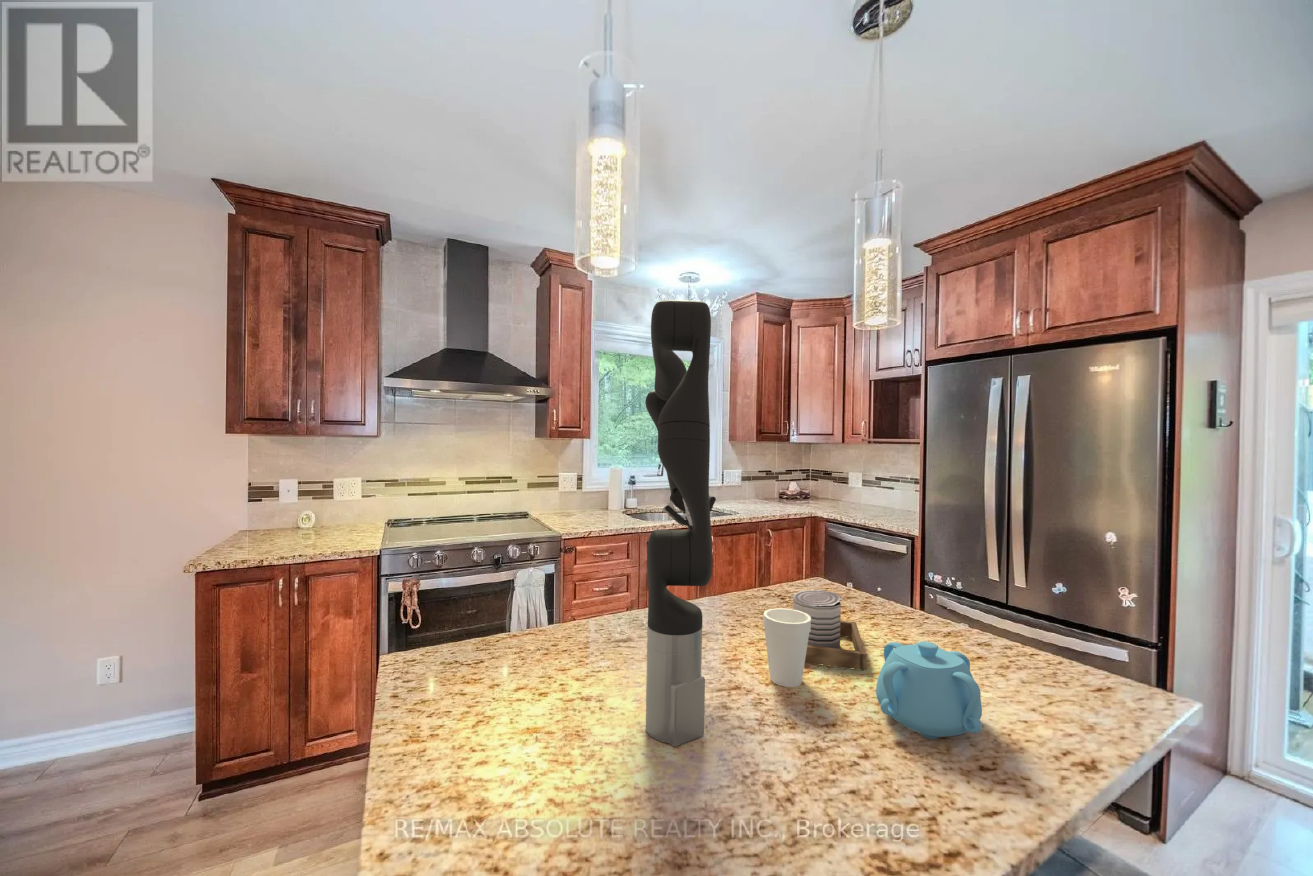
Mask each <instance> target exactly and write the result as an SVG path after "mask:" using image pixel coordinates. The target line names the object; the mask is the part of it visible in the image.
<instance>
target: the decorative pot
mask: <svg viewBox="0 0 1313 876" xmlns="http://www.w3.org/2000/svg"><path fill="white" fill-rule="evenodd" d="M883 657H884V663H883V665H882V667H881V669H880V671H879V674H878V678H877V681H876V686H875V697H876V699H877V701H878V703H879V705H880V706H879V708H880V710H881V712H882V713H883V714H884V715H886V716H889V717H891V718H892V719H893V720H895V721H896V722H897V723H899V724H901V725H902V726H903V727H906V728H908V729H909V730H912V731H914V732H916V733H919V734H920V735H921V736H922V737H924V738H926V739H929V740H937V739H938V738H939V737H940V738H942V737H943V738H944V737H955V736H961V735H964V734H967V733H968V732H969V733H971V734H979V733H980V732H982V729H983V724H982V721H981V718H982V714H983V706H982V699H981V695H982V694H981V689H980V686H979V685H978V683H977V681H976V680H975V678H974V677H973V674H972V673H971V662H970V660H969V657H968V656H966V654H964V653H962V652H960V651H957V650H952V651H948V650H945V649H943V648H941V647H939V646H938V645H937V644H935V643H934V642H930V641H925V640H922V641H918V642H917V643H913V644H902V643H900V642H898V641H893V642H892V641H890V642H888V643H886V644H885V646H884V647H883Z"/></svg>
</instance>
